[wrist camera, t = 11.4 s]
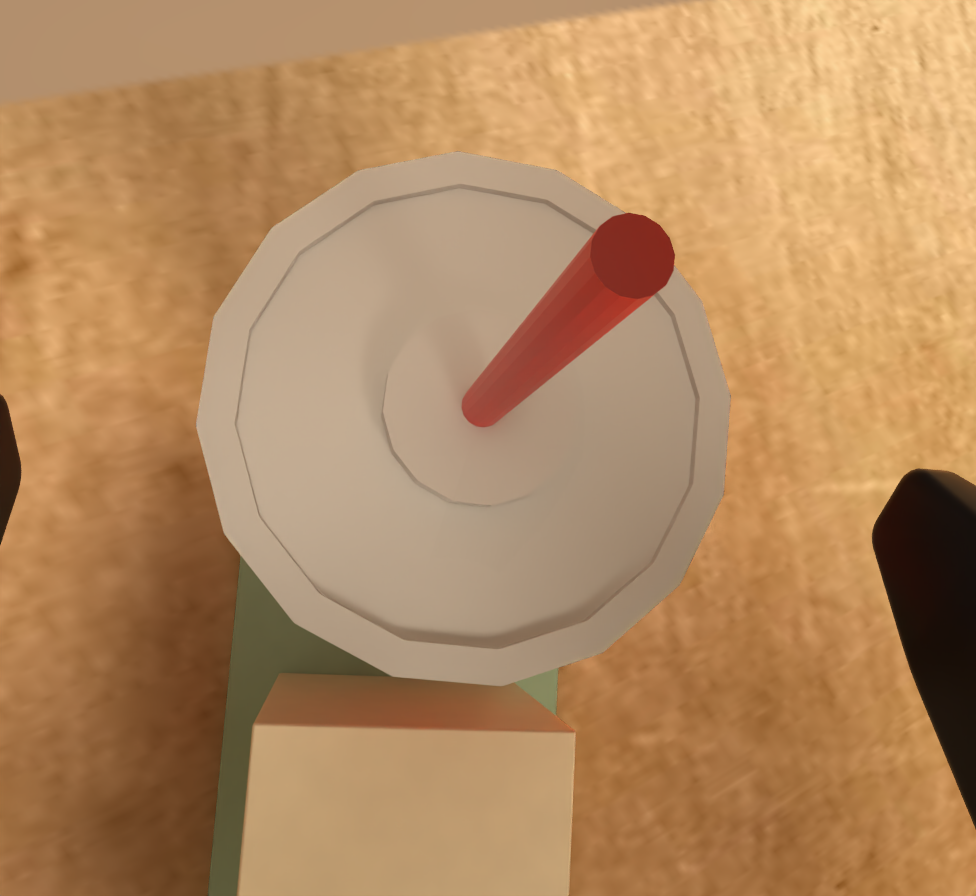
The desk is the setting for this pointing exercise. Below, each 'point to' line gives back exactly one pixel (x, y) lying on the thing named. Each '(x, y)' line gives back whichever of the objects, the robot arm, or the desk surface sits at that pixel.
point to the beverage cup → (464, 418)
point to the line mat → (253, 671)
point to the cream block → (406, 790)
